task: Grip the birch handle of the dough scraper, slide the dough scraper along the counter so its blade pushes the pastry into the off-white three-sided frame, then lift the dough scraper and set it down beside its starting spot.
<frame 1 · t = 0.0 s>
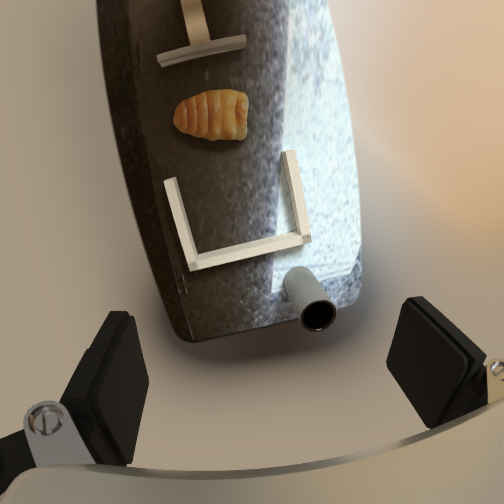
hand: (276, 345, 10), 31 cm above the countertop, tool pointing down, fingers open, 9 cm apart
pastry: (216, 117, 36), on the countertop
frame: (238, 203, 39), on the countertop
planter: (298, 279, 44), on the countertop
dough scraper: (194, 17, 30), on the countertop
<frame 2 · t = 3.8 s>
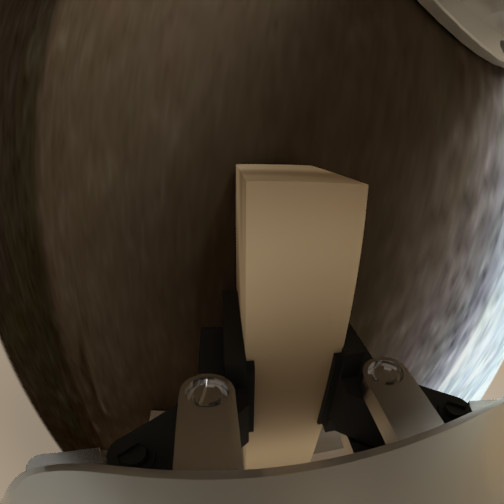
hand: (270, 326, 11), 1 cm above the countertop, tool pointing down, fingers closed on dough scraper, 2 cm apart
dough scraper: (269, 316, 11), on the countertop, touching gripper
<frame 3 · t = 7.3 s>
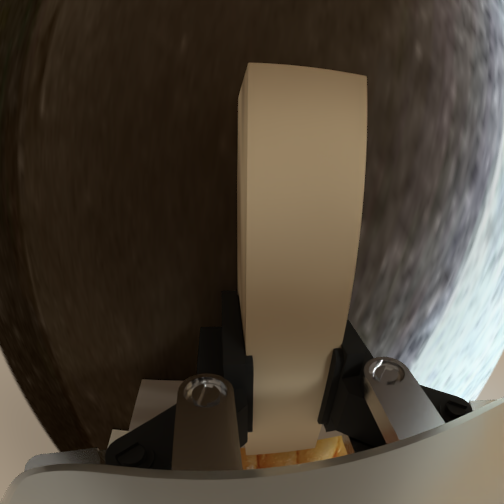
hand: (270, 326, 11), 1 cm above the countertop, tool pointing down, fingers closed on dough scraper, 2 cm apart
pastry: (268, 429, 14), on the countertop, touching dough scraper
dough scraper: (272, 261, 10), on the countertop, touching gripper, pastry
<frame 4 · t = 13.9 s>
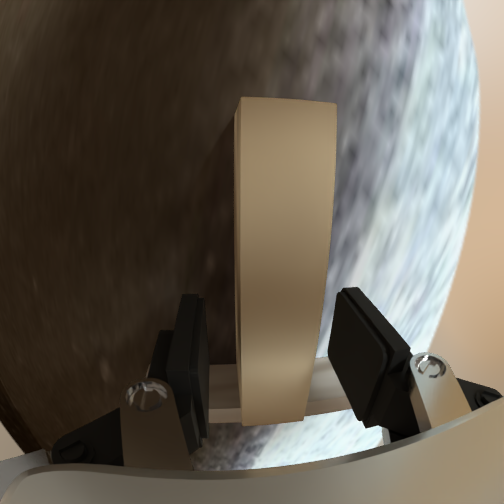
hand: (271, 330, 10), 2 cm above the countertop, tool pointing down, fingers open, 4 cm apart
dough scraper: (264, 255, 12), on the countertop
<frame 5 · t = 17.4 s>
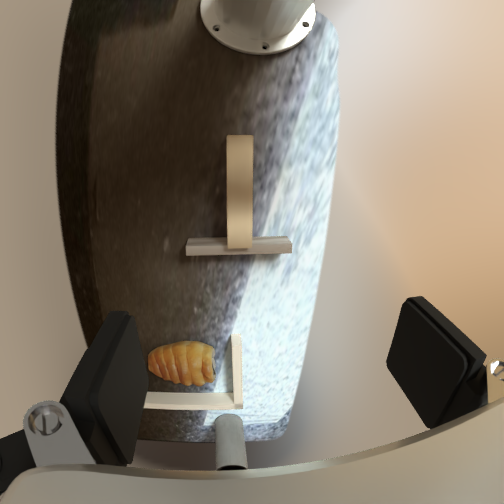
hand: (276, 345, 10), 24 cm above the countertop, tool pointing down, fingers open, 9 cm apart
pastry: (187, 357, 39), on the countertop
frame: (182, 366, 39), on the countertop
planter: (228, 420, 44), on the countertop
dough scraper: (237, 187, 32), on the countertop
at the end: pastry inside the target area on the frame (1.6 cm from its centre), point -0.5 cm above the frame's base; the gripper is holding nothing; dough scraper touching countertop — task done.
